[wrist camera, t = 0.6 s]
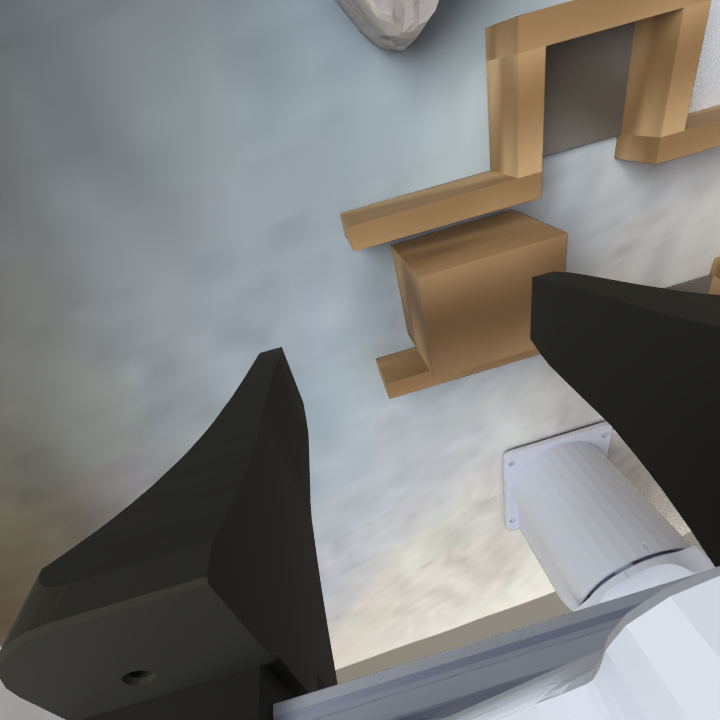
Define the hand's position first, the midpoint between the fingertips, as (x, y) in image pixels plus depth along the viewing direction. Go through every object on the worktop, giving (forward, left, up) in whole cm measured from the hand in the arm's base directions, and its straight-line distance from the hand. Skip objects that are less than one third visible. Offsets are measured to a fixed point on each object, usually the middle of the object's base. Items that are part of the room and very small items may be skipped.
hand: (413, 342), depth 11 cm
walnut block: (-3, -5, -9) cm, 10 cm away
